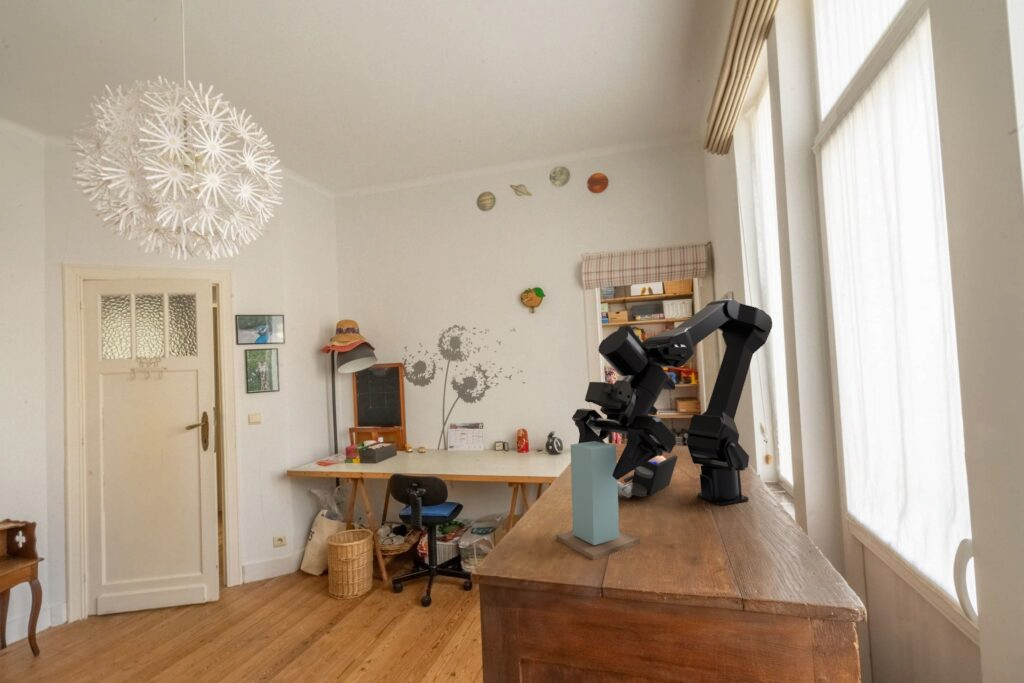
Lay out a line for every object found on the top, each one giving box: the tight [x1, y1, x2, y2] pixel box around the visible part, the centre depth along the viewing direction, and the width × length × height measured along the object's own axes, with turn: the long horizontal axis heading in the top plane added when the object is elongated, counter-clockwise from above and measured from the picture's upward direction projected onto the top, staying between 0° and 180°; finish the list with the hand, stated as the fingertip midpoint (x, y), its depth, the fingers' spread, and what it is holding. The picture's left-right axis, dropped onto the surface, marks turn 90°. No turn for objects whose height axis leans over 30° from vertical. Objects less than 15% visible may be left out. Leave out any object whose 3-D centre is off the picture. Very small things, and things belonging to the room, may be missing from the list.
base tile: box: [555, 529, 640, 561], centre depth 69 cm, size 9×9×2 cm
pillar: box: [570, 441, 620, 545], centre depth 69 cm, size 5×5×14 cm
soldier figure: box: [617, 480, 634, 499], centre depth 90 cm, size 8×5×12 cm
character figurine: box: [623, 454, 678, 497], centre depth 92 cm, size 8×7×15 cm
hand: (594, 472), depth 69 cm, fingers open, 9 cm apart
